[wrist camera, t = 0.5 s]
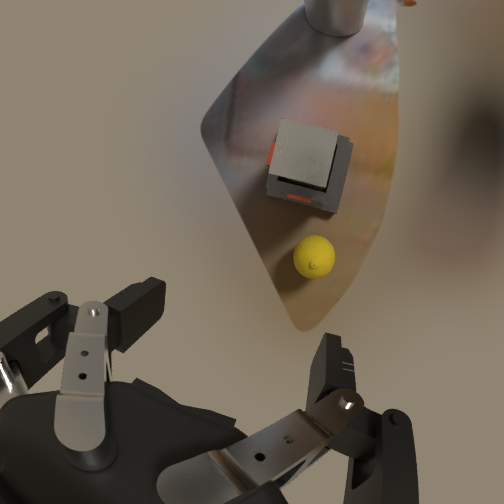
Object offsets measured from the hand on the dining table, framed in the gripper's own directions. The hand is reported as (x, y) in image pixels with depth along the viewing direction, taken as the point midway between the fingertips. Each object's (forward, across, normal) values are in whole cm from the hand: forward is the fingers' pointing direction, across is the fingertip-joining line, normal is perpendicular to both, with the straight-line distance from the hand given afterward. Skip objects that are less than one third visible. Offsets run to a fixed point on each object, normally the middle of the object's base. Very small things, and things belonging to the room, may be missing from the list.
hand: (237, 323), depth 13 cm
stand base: (+29, 0, -8) cm, 30 cm away
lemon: (+28, -4, +3) cm, 29 cm away
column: (+27, 0, -8) cm, 28 cm away
